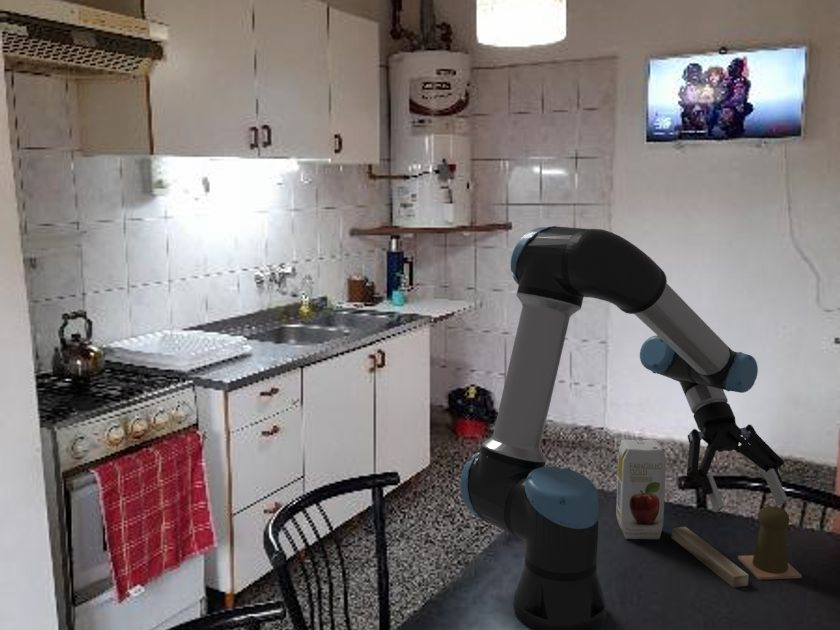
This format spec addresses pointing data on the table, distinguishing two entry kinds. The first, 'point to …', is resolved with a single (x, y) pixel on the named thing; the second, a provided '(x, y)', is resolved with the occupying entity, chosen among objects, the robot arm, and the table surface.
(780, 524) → the olive domed peg
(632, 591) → the table surface
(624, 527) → the juice carton
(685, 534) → the straightedge
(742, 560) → the end plate
